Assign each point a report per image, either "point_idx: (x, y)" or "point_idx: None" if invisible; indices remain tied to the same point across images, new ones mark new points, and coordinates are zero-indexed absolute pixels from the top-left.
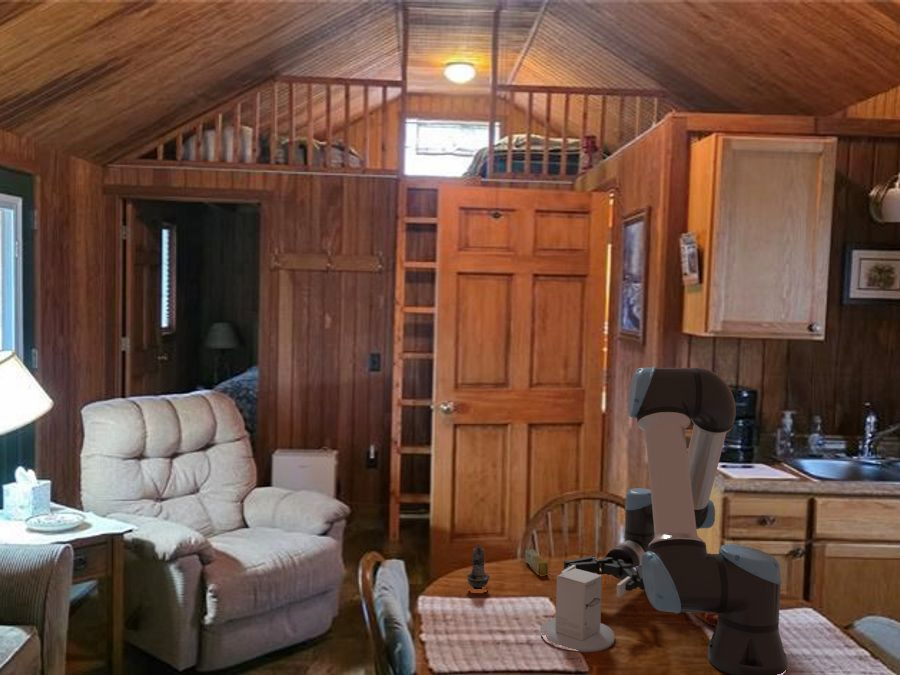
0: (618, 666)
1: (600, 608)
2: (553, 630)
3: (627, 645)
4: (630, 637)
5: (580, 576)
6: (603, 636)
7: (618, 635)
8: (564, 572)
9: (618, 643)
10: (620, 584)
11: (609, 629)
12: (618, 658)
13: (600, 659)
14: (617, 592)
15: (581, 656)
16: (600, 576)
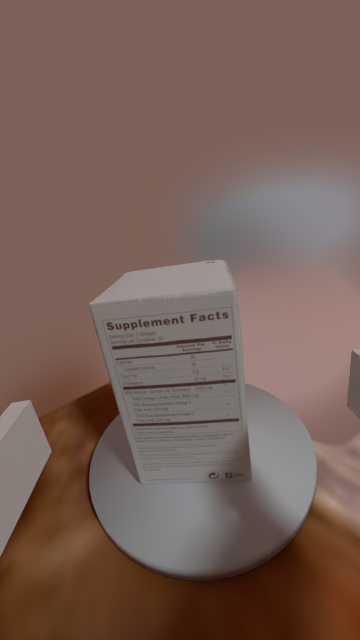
0: (68, 405)
1: (122, 419)
2: (248, 409)
3: (49, 498)
4: (36, 572)
5: (158, 274)
6: (120, 464)
7: (85, 553)
8: (357, 354)
9: (78, 491)
10: (6, 410)
11: (116, 527)
12: (71, 426)
13: (106, 404)
14: (39, 434)
15: None
16: (93, 302)
